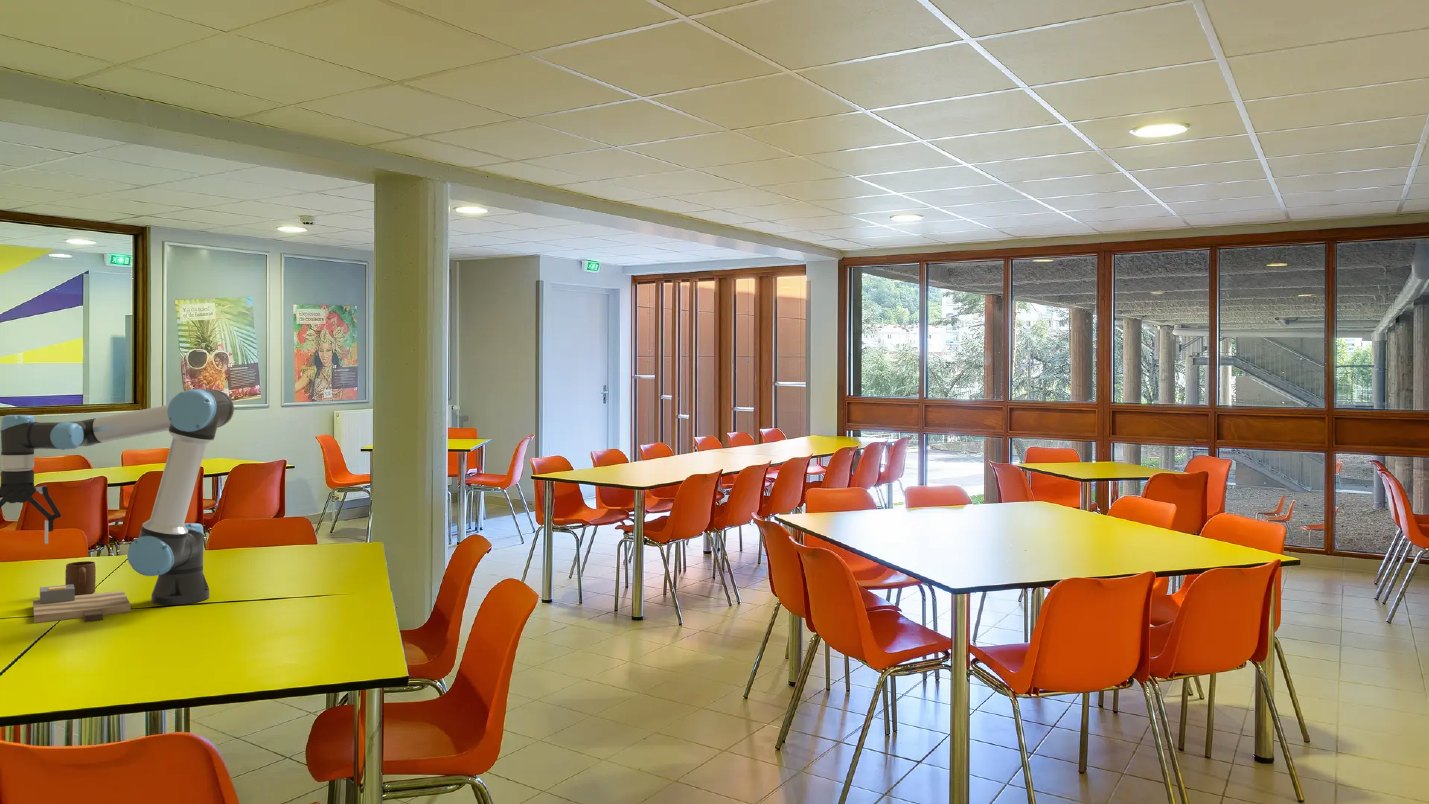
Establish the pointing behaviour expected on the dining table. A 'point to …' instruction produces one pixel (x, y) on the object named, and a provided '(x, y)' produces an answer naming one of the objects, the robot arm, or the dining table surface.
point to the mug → (81, 577)
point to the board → (83, 607)
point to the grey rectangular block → (57, 594)
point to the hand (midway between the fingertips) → (17, 545)
